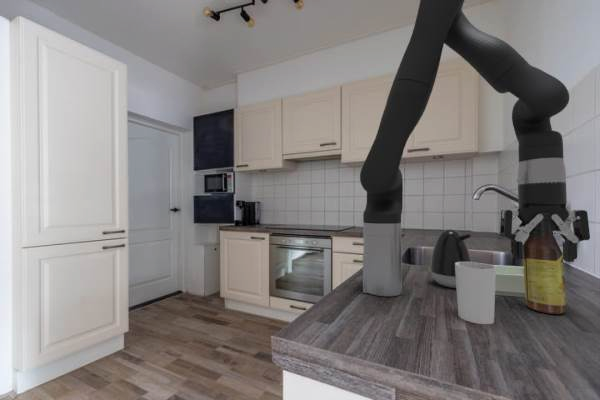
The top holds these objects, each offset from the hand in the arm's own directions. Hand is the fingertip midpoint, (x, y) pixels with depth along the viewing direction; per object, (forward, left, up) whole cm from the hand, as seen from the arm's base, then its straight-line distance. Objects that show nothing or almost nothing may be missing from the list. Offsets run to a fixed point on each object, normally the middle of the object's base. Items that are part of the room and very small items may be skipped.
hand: (543, 260), depth 56 cm
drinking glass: (-15, -9, -10) cm, 20 cm away
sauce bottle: (0, 0, -10) cm, 10 cm away
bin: (-1, +14, -10) cm, 17 cm away
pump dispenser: (-14, +14, -10) cm, 22 cm away
